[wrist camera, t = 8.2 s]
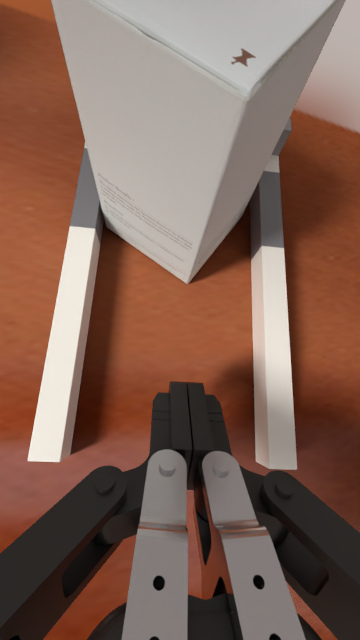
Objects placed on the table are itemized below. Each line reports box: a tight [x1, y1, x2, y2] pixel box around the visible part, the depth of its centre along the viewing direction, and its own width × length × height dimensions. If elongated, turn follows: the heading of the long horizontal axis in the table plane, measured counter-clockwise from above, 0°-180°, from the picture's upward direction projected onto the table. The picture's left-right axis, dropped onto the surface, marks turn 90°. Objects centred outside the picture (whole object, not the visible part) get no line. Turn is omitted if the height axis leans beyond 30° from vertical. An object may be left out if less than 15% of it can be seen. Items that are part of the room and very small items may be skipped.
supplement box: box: [51, 0, 345, 284], centre depth 15 cm, size 7×7×13 cm
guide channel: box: [28, 116, 297, 470], centre depth 17 cm, size 14×22×6 cm, turn 177°
